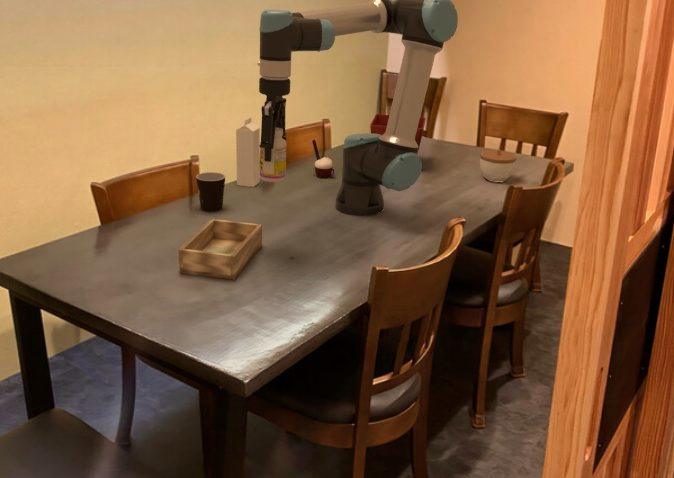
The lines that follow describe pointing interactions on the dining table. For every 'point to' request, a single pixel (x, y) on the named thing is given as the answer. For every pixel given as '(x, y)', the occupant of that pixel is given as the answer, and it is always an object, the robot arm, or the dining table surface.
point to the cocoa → (322, 164)
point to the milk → (248, 154)
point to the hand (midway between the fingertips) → (272, 169)
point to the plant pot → (382, 120)
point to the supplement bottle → (276, 159)
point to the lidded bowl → (497, 165)
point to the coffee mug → (211, 190)
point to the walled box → (220, 249)
